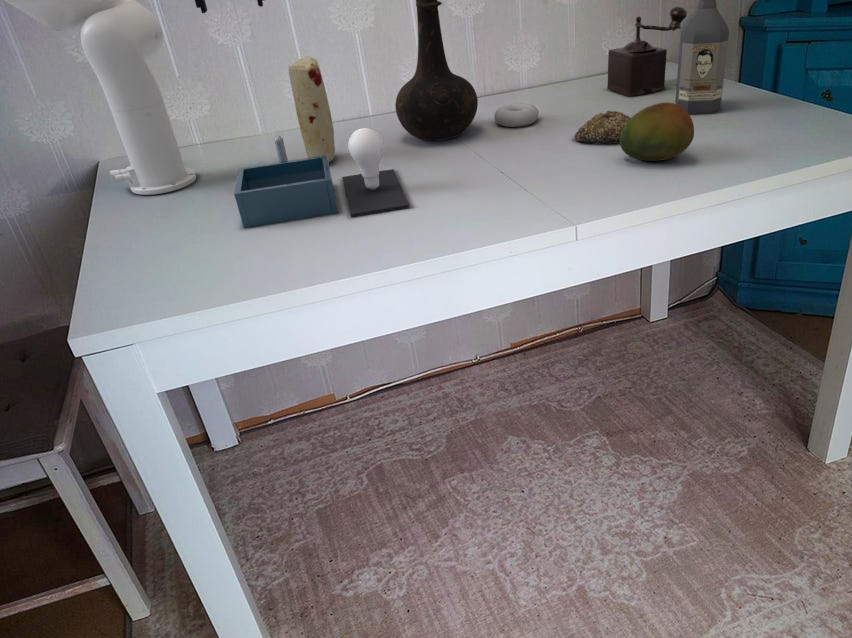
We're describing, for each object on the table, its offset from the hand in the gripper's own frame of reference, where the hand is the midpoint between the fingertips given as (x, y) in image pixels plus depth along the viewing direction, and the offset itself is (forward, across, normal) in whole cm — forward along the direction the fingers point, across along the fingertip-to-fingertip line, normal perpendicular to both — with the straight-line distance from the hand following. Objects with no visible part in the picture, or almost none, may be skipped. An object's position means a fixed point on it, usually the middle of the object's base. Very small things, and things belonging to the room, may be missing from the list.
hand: (233, 8), depth 122 cm
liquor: (+31, -93, -3) cm, 98 cm away
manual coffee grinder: (+31, -91, -26) cm, 99 cm away
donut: (+31, -54, -13) cm, 63 cm away
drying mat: (+30, -18, +18) cm, 40 cm away
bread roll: (+31, -68, +6) cm, 75 cm away
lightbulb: (+30, -18, +18) cm, 39 cm away
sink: (+30, -3, +17) cm, 35 cm away
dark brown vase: (+31, -36, -12) cm, 49 cm away
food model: (+31, -10, -6) cm, 33 cm away
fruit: (+31, -70, +24) cm, 80 cm away
